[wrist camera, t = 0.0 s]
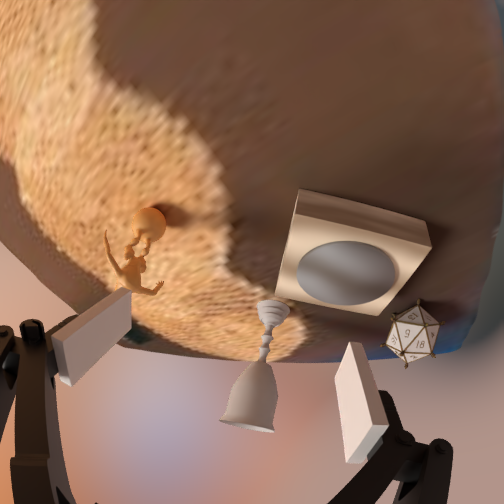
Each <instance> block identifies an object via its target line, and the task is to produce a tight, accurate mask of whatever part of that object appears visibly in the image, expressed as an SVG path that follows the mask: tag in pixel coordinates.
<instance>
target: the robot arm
mask: <svg viewBox="0 0 504 504" xmlns="http://www.w3.org/2000/svg"><path fill="white" fill-rule="evenodd" d="M131 294H132V290H130V289H126V288H123V287H120V288H119V289H117V290H116V291H114V292H113V293H111V294H110V295H108V296H107V297H106V298H104V299H103V300H101V301H100V302H98V303H97V304H95V305H94V306H92V307H91V308H89V309H88V310H87V311H85V312H84V313H82V314H81V315H73V316H70V317H68V318H66V319H65V320H63V321H62V322H60V323H59V324H58V325H56V326H55V327H53V328H52V329H50V330H49V331H47V332H46V333H45V332H44V327H43V323H42V322H41V321H39V320H36V319H29V320H25V321H23V322H22V323H21V324H20V326H19V327H20V332H21V336H22V338H20V337H16V336H14V332H13V329H12V328H11V327H10V326H5V325H2V326H0V442H1V438H2V435H3V431H4V428H5V424H6V422H7V418H8V415H9V412H10V409H11V406H12V403H13V401H14V398H15V395H16V401H15V457H12V458H11V459H10V471H11V481H12V491H13V498H14V504H76V502H75V499H74V497H73V495H72V492H71V489H70V485H69V481H68V477H67V472H66V468H65V462H64V457H63V451H62V446H61V438H60V431H59V422H58V413H57V401H56V385H55V378H54V375H56V374H57V373H59V376H60V380H61V381H62V382H64V383H66V384H67V385H69V386H71V387H72V386H73V385H74V384H75V383H76V382H77V381H78V380H79V379H80V378H81V377H82V376H83V375H84V374H85V373H86V372H87V371H88V370H89V369H90V368H91V367H92V366H93V365H94V364H95V363H96V362H97V361H98V360H99V359H100V358H101V357H102V356H103V355H104V354H105V353H106V352H107V351H108V350H109V349H110V348H112V347H113V346H114V345H115V344H116V343H117V342H118V341H119V340H120V339H121V338H122V337H123V336H124V335H125V334H126V333H127V332H128V331H129V330H130V329H131ZM335 384H336V391H337V397H338V404H339V411H340V417H341V425H342V433H343V441H344V449H345V458H346V463H362V462H363V460H364V459H365V458H366V457H367V458H368V462H367V463H366V464H365V465H364V467H363V468H362V469H361V470H360V471H359V472H358V473H357V474H356V475H355V476H354V477H353V479H352V480H351V481H350V482H349V483H348V484H347V485H346V486H345V487H344V488H343V489H342V490H341V491H340V492H339V493H338V494H337V495H336V496H335V497H334V498H333V499H332V500H331V501H330V502H329V503H328V504H375V502H376V501H377V500H378V499H379V498H380V496H381V495H382V494H383V492H384V491H385V490H386V488H387V487H388V485H389V484H390V483H391V481H392V480H396V481H400V484H399V487H398V490H397V493H396V495H395V498H394V501H393V504H447V499H448V492H449V486H450V479H451V470H452V461H453V447H452V446H451V444H450V443H449V442H448V441H446V440H444V439H439V438H438V439H434V440H433V441H432V442H431V443H430V444H429V445H427V444H423V443H418V442H415V438H414V437H413V435H412V434H411V433H409V432H408V431H405V430H403V427H402V424H401V421H400V418H399V415H398V413H397V411H396V407H395V406H394V405H395V404H394V401H393V399H392V397H391V396H390V394H389V393H388V392H387V391H382V390H378V389H377V386H376V383H375V380H374V377H373V374H372V371H371V369H370V366H369V363H368V360H367V357H366V354H365V351H364V349H363V346H362V343H356V342H349V344H348V347H347V349H346V352H345V354H344V357H343V359H342V362H341V364H340V367H339V369H338V371H337V374H336V376H335ZM95 504H97V503H95Z"/></svg>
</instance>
